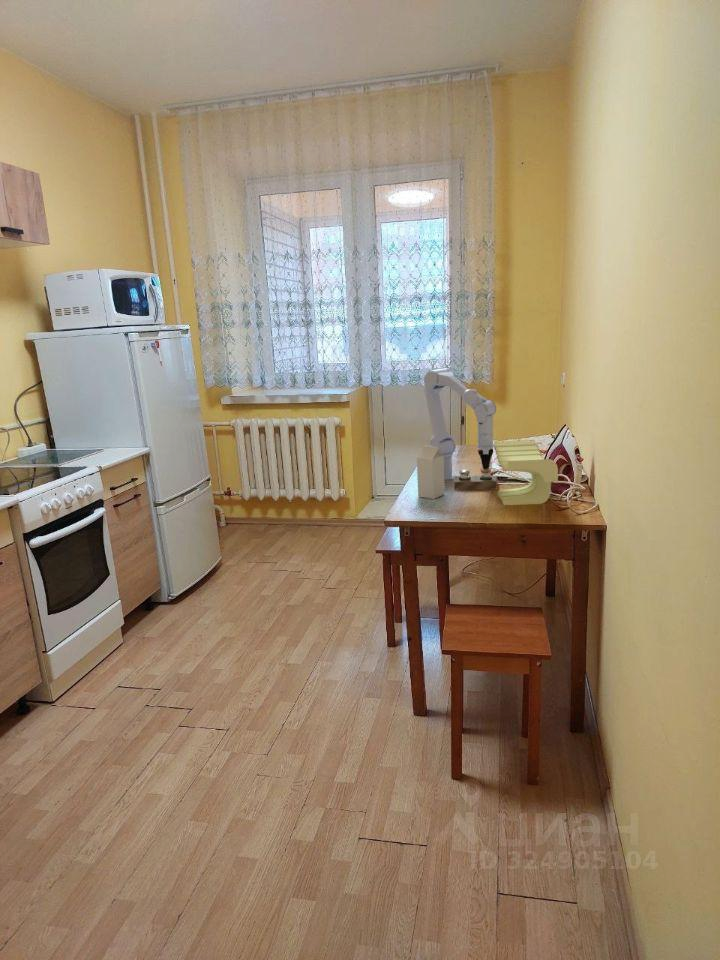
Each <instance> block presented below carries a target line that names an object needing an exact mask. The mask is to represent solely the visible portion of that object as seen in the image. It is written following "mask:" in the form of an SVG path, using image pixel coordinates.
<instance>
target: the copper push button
mask: <svg viewBox="0 0 720 960" xmlns="http://www.w3.org/2000/svg"><path fill="white" fill-rule="evenodd" d="M479 471H480V472H481V473H480V474H481V475H480V476H481V480H490V476H491V472H492V468H490V467H489V469H483V467H481V468H480V470H479Z"/></svg>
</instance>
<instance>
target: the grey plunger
mask: <svg viewBox="0 0 720 960" xmlns="http://www.w3.org/2000/svg"><path fill="white" fill-rule="evenodd" d="M459 474H460V475H459V476H460V480H469V476H470V474H471V470H470V469H465V468H464V469H460V470H459Z"/></svg>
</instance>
